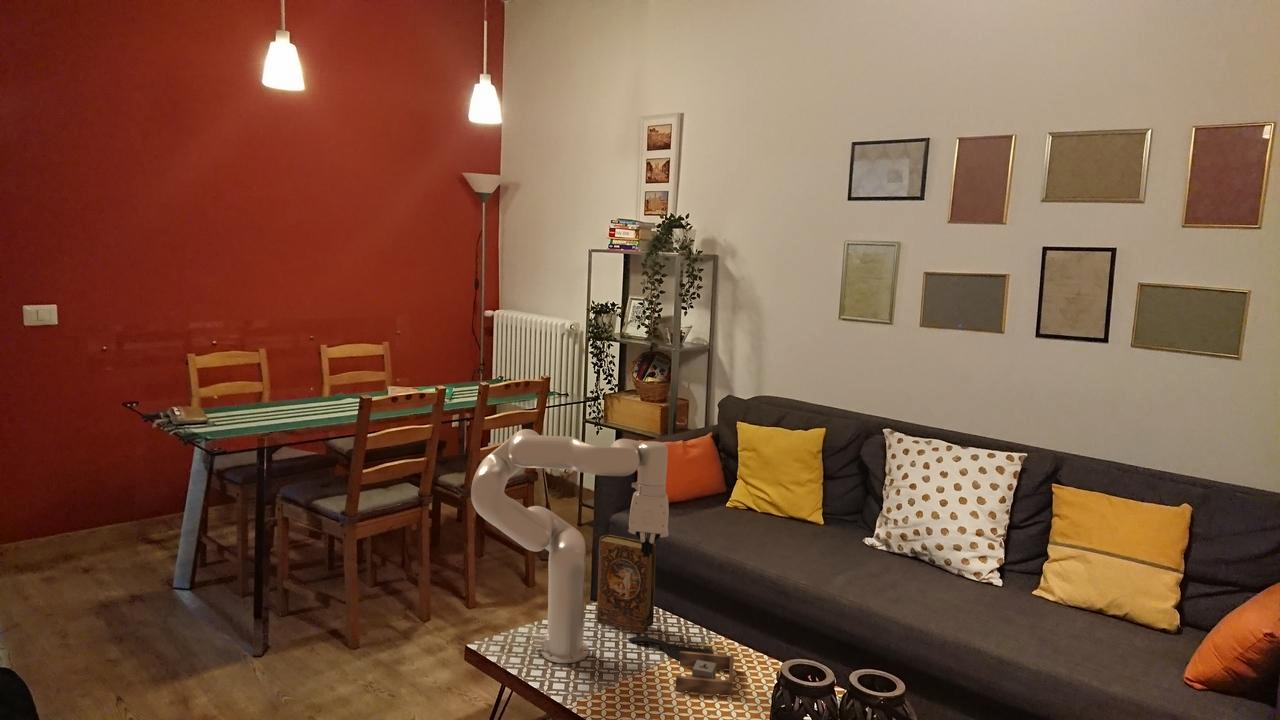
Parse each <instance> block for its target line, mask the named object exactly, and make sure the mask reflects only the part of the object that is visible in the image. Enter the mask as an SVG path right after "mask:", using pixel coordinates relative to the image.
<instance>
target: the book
mask: <svg viewBox="0 0 1280 720" xmlns="http://www.w3.org/2000/svg"><path fill="white" fill-rule="evenodd" d="M598 539H599V540H598V568H597V569H598V570H597V571H598V572H597V573H598V574H597V576H598V577H597V600H596V601H597V602H596V603H597V605H596V606H597V607H596V608H597V609H596V623H597V622H598V624H600V623H601V625H605V624H606V626H610V627H614V628H618V629H622V630H625V631H629V632H630V631H631V632H636V633H641V634H645V632H646V631H647V628H648V627H651V626H652V625H653V624H654V619H655V618H654V617H655V610H654V609H655V590H656V589H655V587H656V558H657V557H656V556H657V555H656V552H657V546H656V543H654V546H653V554H651V555H650V557H649V558H647V557H643V553H641V547H642V542H641V540H640V539H639V540H638V539H633V538H627V537H624V536H623V537H622V536H616V535H611V534H604V535H602V536H599V538H598Z"/></svg>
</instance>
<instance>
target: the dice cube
mask: <svg viewBox="0 0 1280 720" xmlns="http://www.w3.org/2000/svg"><path fill="white" fill-rule="evenodd" d="M691 672H692V673H691V677H696V678H707V679H717V675H716V674H717V669H716V663H712V662H707V661H701V660H697V661H696V663H695V665H694V667H692V670H691Z"/></svg>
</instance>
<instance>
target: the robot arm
mask: <svg viewBox="0 0 1280 720" xmlns="http://www.w3.org/2000/svg"><path fill="white" fill-rule="evenodd" d="M668 454H669V449H668V445H666V444H665V443H664V442H661V441H654V440H653V441H651V440H649V441H640V440H636V439H635V440H634V439H629V438H619V439H616V440H615V441H613V442H612V444H611V445H610V446H597V445H593V444H588V443H585V442H584V441H581V440H580V439H578V438H576V437H573V436H569V435H568V436H567V435H566V436H565V435H564V436H563V435H562V436H561V435H540V434H539V433H538V432H537V431H535V430H533V429H530V428H529V429H528V428H523V429H520V430H518V431H516V432H514V434H513V435H512V436H510V437H509V438H508V439H506V441H504V442H502V444H501V445H500V446H498V447H497V448H496V449H495V450H493V451H492V452H491V453H489V454H488V455H487V456H485V458H484V459H482V460H481V462H480V464H479V466H478V468H477V469H476V471H475V474H474V476H473V479H472V482H471V483H472V484H471V488H470V499H471V503H472V506H473V507H474V509H475V511H476V512H477V514H478V515H479V516H480V517H482V518H483V519H484V520H485V521H487V522H488V523H489V524H491V525H492V526H494V527H495V528H497V529H498V530H499V531H501V533H503V534H505V535H506V536H508V537H509V538H510V539H511V540H513V541H515V542H516V543H517V544H519V545H520V546H521V547H523V548H524V549H526V550H528V551H530V552H541V551H543V550H544V549H545V550H546V551H548V553H549V554H548V564H547V565H548V567H547V568H548V569H547V570H548V587H547V589H548V591H547V597H548V598H547V599H548V602H547V604H548V605H547V633H544V634H540V633H532V635H531V641H532V642H533V644H534V645H535V646H536V645H537V646H541V656H542V657H543V658H544V659H545V660H547V661H549V662H552V663H557V664H573V663H577V662H580V661H582V660H583V659H585V658H586V657H587V656H588V654H589V651H590V650H589V646H588V645H587V643H586V642H584V619H585V616H584V615H585V614H584V613H585V580H586V579H585V576H586V562H587V561H586V543H585V542H586V541H585V538H584V536H583V534H582V533H581V532H580V531H579V530H578V529H576V527H574V526H573V525H571V524H570V523H568V522H567V521H566V520H564V519H563V518H561V517H560V516H558V515H557V514H556V513H554V512H553V511H552V510H550V509H548V508H546V507H543V506H540V505H532V506H528V507H525V506H524V505H523V504H521V503H520V502H519V501H517V500H516V499H514V498H512V497H510V496H508V495H507V493H505V488H506V486H507V484H508V481H509V479H511V477H513V475H515V474H516V473H518V472H519V471H520V470H521V469H522V468H524V469H525V468H527V469H550V470H551V469H552V470H554V469H555V470H570V471H573V472H577V473H584V474H589V475H595V476H604V477H605V476H607V477H626V476H630V475H632V474H634V473H635V472H636V471H637V481H636V482H631V488H634V489H635V492H633V494H632V498H631V502H630V503H631V504H630V510H629V519H628V531H627V532H628V533H629V534H633V535H636V536H637V538H638V539H639V541H641V542H642V547H641V553H643V557H647V558H649V557H650V555H651V554H653V546H654V544H655V543H654V542H656V541H657V540H658V539H659V538H667V537H668V536H669V517H670V515H669V514H670V513H669V512H670V511H669V510H670V508H669V497H668V494H667V493H666V486H667V485H666V484H667V473H668V472H667V469H668ZM647 534H650V537H649V539H648V537H647Z"/></svg>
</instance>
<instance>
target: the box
mask: <svg viewBox="0 0 1280 720" xmlns="http://www.w3.org/2000/svg"><path fill="white" fill-rule="evenodd" d="M734 659H735V656H734V655H729V654H727V655H726V654H715V653H713V654H707V653H696V652H686V651H680V662H679V666H681V665H682V667H683V666H684V667H691V666H692V668H693V667H694V665H695V663H696V661H697V660H701V661H707V662H712V663H716V670H723V669H729V670H728V671H729V673H728V680H725V679H717V678H716V679H707V678H696V677H692V676H685V675H684V676H683V675H676V677H675V692H681V691H687V692H686V693H692V692H693V693H694V694H703V695H704V694H705V695H712V694H719V695H718V696H722V695H731V696H730V697H733V691H734V690H733V689H734V669H735V668H734V665H735V664H734V663H735V660H734Z"/></svg>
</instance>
